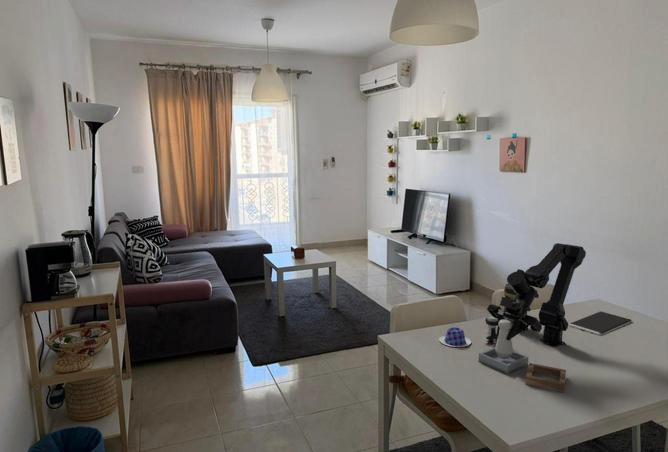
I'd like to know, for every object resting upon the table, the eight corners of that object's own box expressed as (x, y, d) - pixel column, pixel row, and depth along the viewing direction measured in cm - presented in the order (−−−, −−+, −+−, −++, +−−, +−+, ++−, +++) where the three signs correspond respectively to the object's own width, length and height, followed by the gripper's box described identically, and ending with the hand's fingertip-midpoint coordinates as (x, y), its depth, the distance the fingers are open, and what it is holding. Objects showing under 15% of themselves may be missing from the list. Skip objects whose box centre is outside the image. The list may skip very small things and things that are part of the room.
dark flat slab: (567, 327, 194) (567, 323, 194) (600, 314, 208) (600, 310, 208) (599, 337, 183) (599, 333, 183) (632, 322, 197) (632, 319, 197)
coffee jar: (498, 326, 194) (500, 283, 191) (508, 321, 199) (511, 280, 196) (520, 332, 187) (523, 288, 184) (530, 328, 192) (532, 285, 189)
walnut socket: (529, 369, 155) (529, 362, 154) (565, 377, 150) (566, 369, 149) (525, 384, 145) (525, 376, 145) (564, 392, 140) (564, 384, 140)
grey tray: (499, 353, 168) (499, 345, 167) (527, 365, 158) (528, 356, 158) (478, 361, 161) (478, 353, 161) (507, 374, 152) (507, 365, 151)
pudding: (458, 334, 186) (458, 322, 186) (477, 345, 175) (478, 332, 175) (433, 339, 182) (433, 326, 181) (451, 351, 171) (452, 337, 170)
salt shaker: (495, 351, 163) (496, 316, 161) (512, 354, 161) (514, 318, 159) (494, 358, 158) (496, 322, 156) (512, 361, 156) (514, 324, 154)
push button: (490, 346, 173) (491, 321, 172) (479, 342, 178) (480, 317, 176) (501, 342, 177) (503, 318, 175) (490, 338, 181) (491, 314, 180)
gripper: (490, 282, 165) (469, 318, 161) (538, 294, 150) (517, 334, 146) (503, 298, 171) (483, 334, 167) (551, 312, 156) (530, 351, 152)
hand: (502, 338), depth 158 cm, fingers closed on salt shaker, 3 cm apart
